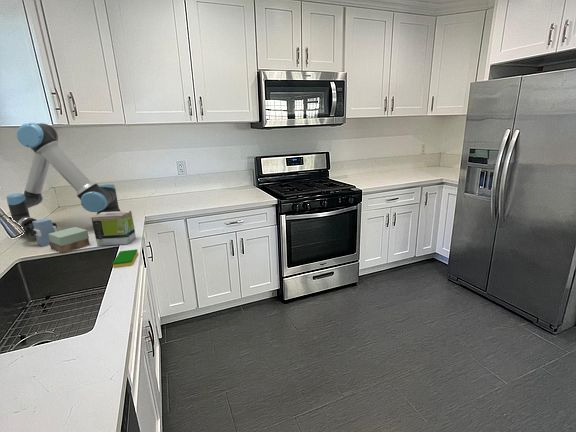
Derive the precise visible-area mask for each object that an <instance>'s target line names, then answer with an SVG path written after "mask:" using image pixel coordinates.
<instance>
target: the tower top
mask: <svg viewBox="0 0 576 432" xmlns="http://www.w3.org/2000/svg"><path fill="white" fill-rule="evenodd" d="M48 235H49V239H50V242H52V243H55V244H57V245H60V246H63V245H67V244H70V243H74V242H77V241H81V240H84V239H90V236H89V233H88V230H87V229H84V228H80V227H78V226H73V227H70V228H69V227H68V228H65V229H62V230H57V232H53V233H49V234H48Z"/></svg>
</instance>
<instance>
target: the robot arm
mask: <svg viewBox="0 0 576 432" xmlns="http://www.w3.org/2000/svg"><path fill="white" fill-rule="evenodd" d="M16 138H17V140H18V141H19V143H20V144H21V145H22V146H24V147H27V148H29V149H31V150H32V151H33V152H34V154H33V156H32V157H33V158H32V162H31V166H30V168H29V169H30V170H29V173H28V177H27V180H26V181H27V182H26V184H25V188H24V191H23V192H24V193H21V192H18V193H12V194H7V196H6V203H7V206H8V209H9V213H10V215H11V216H12V217H11V219H12V218H13V220H15V221H16V222H17V223H19V224H20V225H21V226H22V227H23V229H24V231H25V232H24V234H23V235H24V236H29V235H31V237H34V236H36V235H37V236H42V235H41V231H40V230H37V229H34V227H33V223H32V221H36V220H37V219H36V218H34V217H31V216H30V210H29V209H30V208H33V207H35V206H38V205H40V204H41V203H42V202H43V200H44V198H43V194H42V191H43V189H44V185H45V181H46V178H47V173H48V170H49V166H50V165H51V166H52V167H53V168H54V170H55V171H57V172H58V173H59V175H61V176H62V178H63V179H64V180H65V181H66V182H67V183H68V184H69V185H70V186H71V187H72V188H73V189H74V191H76V197H78V199H79V200H80V205H81V206H82V208H83V209H84V210H85V211H87V212H90V213H96V215H97V214H99V213H101V212H116V211H121V209H120V208H119V201H118V195H117V191H116V190H117V189H116V187H115V184H114V183H109V184H98V183H96V182H92V181H91V180H90V179H89V178H88V177H87V175H85V174H84V173H83V171H82V170H81V169H80V168H79V167H78V166H77V165H76V164H75V163H74V162H73V161H72V160H71V158H70V157H69V156H67V155H66V153H65V152H64V151H63V150H62V149H61V148H60V147H59V146H58V144H59V135H58V133H57V131H56V129H55V128H54V127H53V126H52V125H50V124H48V123H42V122H41V123H35V122H29V123H23V124H21V125H20V126H19V127H18V129H17V131H16ZM52 224H53V229H54V232H57V231H58V226H57V223H55V222H52Z"/></svg>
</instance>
